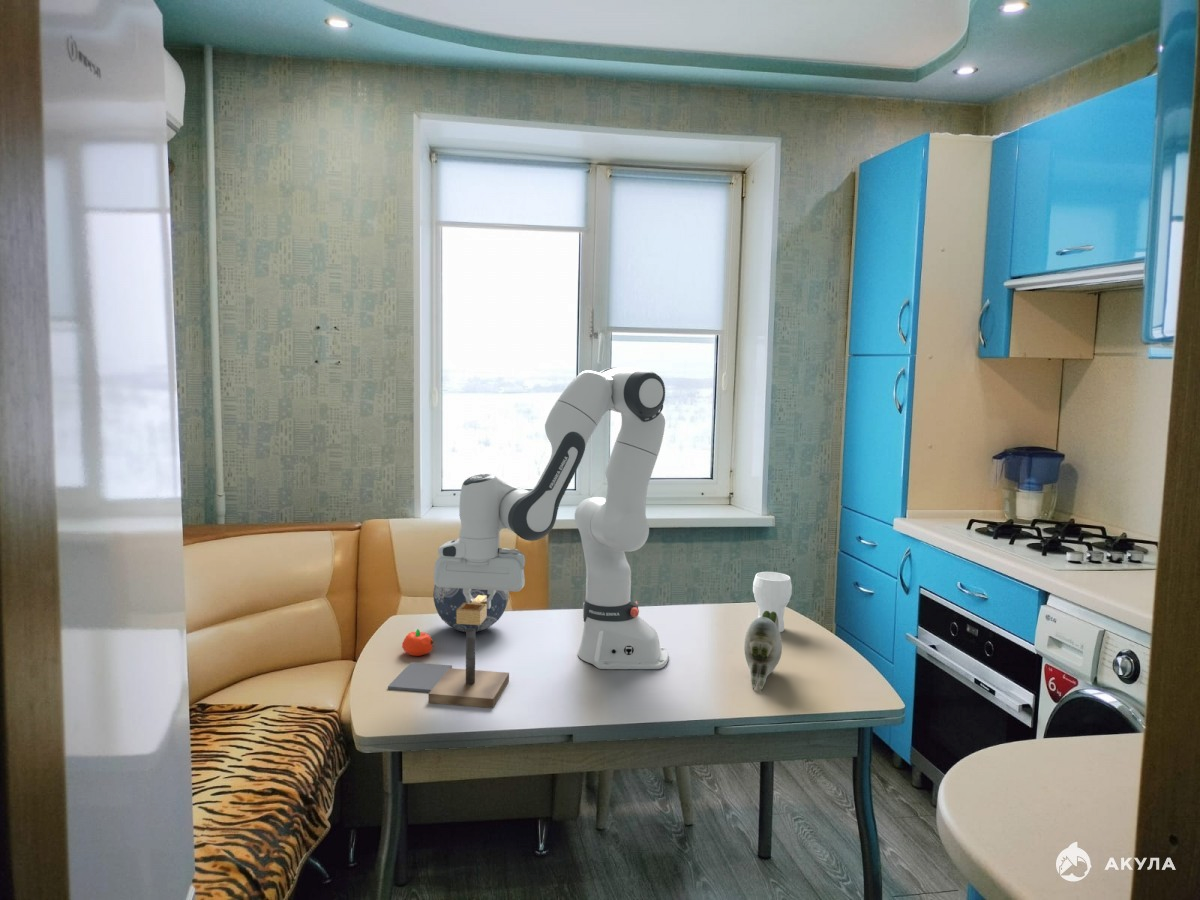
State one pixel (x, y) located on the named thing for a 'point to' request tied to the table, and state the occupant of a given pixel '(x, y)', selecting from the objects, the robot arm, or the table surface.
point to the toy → (763, 647)
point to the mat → (419, 677)
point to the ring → (472, 611)
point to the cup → (772, 594)
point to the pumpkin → (417, 643)
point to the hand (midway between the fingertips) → (479, 607)
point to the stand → (469, 682)
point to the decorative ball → (454, 598)
